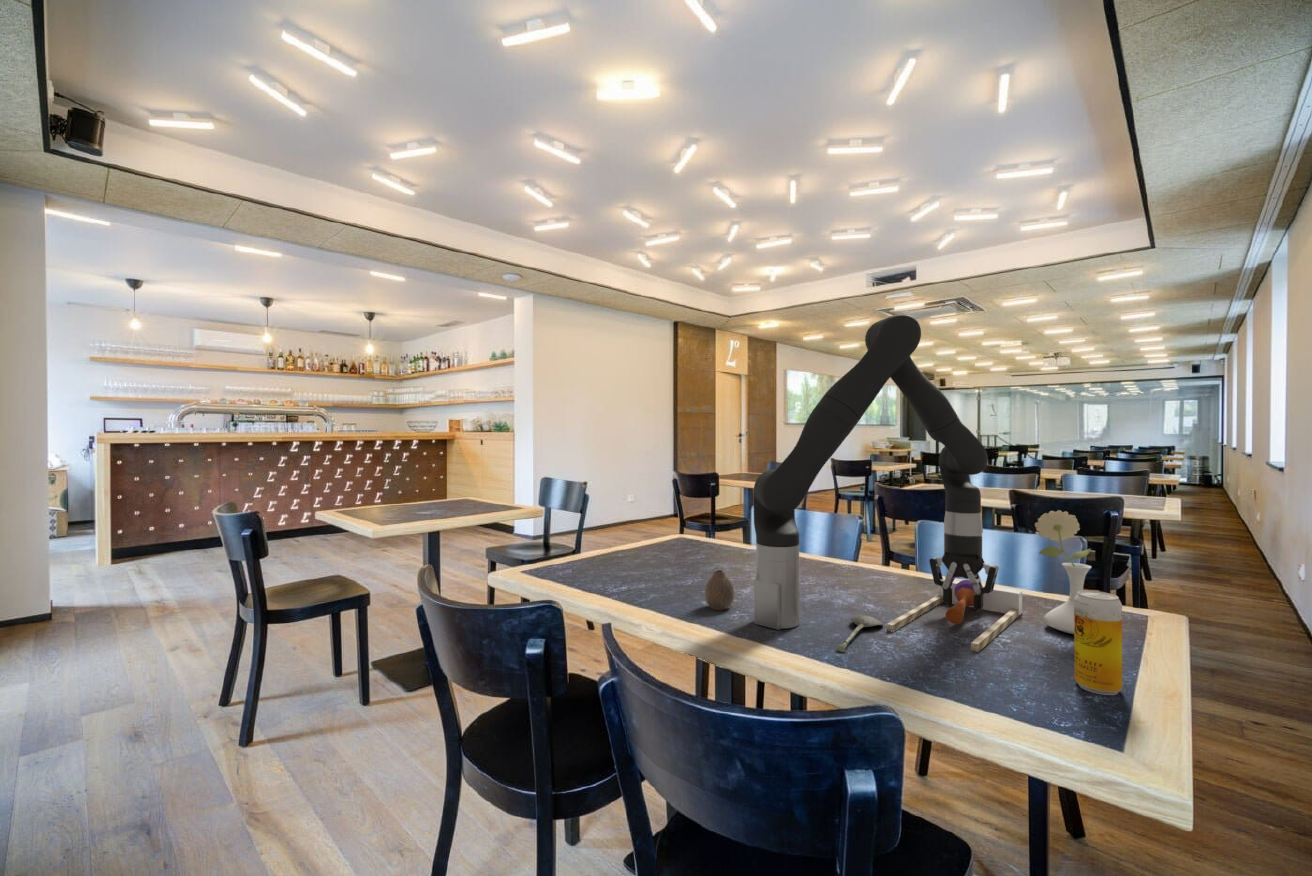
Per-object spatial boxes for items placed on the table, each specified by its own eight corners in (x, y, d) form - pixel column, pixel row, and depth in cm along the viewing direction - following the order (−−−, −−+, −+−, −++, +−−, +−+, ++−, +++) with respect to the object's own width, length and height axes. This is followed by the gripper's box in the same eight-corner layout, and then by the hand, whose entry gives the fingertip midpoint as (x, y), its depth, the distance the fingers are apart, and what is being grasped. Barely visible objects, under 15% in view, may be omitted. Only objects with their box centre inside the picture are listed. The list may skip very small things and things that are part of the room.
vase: (738, 606, 138) (738, 569, 138) (726, 613, 132) (726, 575, 132) (713, 602, 142) (712, 566, 142) (699, 609, 136) (699, 572, 136)
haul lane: (978, 652, 108) (978, 644, 108) (886, 630, 120) (886, 623, 120) (1018, 615, 130) (1018, 609, 130) (938, 601, 142) (938, 594, 142)
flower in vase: (1114, 631, 120) (1114, 511, 120) (1108, 645, 111) (1108, 516, 112) (1040, 618, 129) (1039, 506, 129) (1029, 630, 120) (1029, 510, 120)
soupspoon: (887, 629, 125) (856, 625, 128) (886, 613, 125) (855, 610, 128) (857, 656, 107) (823, 651, 110) (857, 638, 107) (822, 633, 110)
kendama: (936, 602, 123) (954, 577, 138) (942, 630, 122) (960, 601, 138) (966, 601, 119) (982, 576, 135) (973, 630, 119) (988, 601, 134)
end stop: (1018, 615, 130) (1018, 593, 130) (938, 601, 142) (938, 580, 142) (1022, 612, 132) (1022, 591, 132) (942, 598, 144) (942, 578, 144)
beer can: (1065, 681, 95) (1064, 590, 95) (1099, 679, 96) (1099, 589, 96) (1096, 697, 89) (1095, 600, 89) (1132, 695, 89) (1132, 599, 90)
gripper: (923, 530, 131) (923, 604, 131) (994, 537, 121) (994, 618, 121) (935, 526, 136) (935, 598, 136) (1003, 533, 126) (1003, 611, 126)
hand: (962, 607), depth 129 cm, fingers closed on kendama, 5 cm apart
